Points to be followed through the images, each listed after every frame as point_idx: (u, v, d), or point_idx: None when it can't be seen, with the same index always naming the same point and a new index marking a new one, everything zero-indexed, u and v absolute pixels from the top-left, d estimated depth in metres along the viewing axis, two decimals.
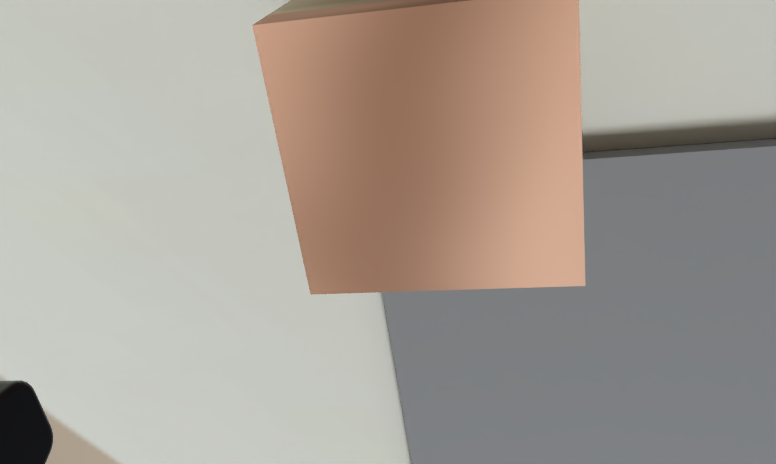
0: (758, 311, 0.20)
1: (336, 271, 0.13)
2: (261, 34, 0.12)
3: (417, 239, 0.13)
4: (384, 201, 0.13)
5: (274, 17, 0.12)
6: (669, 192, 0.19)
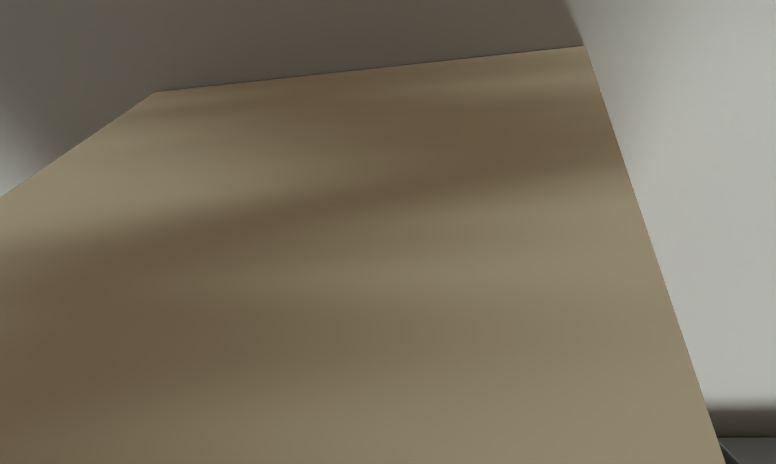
0: None
1: None
2: None
3: None
4: None
5: None
6: None
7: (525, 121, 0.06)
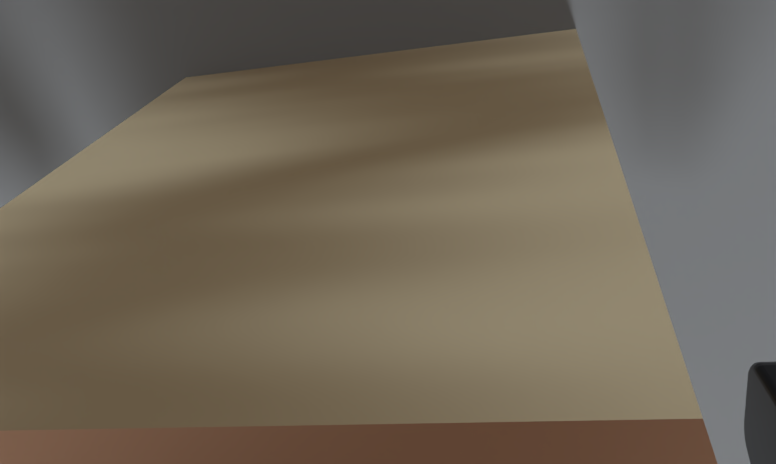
0: None
1: None
2: None
3: None
4: None
5: None
6: (283, 22, 0.09)
7: (521, 92, 0.07)
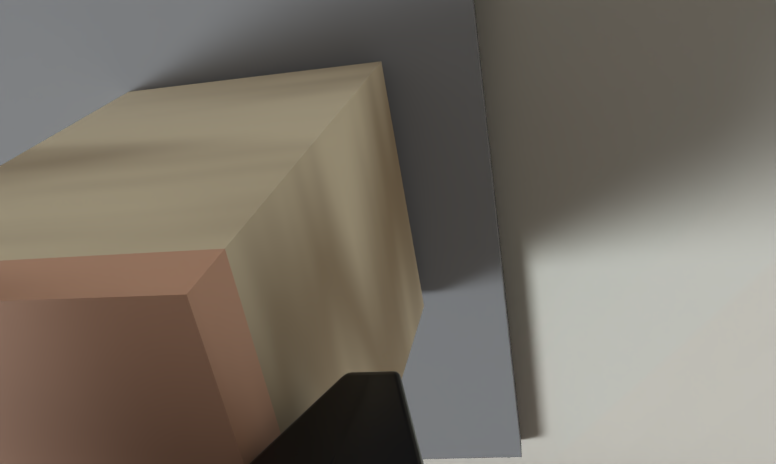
0: None
1: None
2: (173, 308, 0.06)
3: None
4: None
5: (217, 283, 0.07)
6: (427, 132, 0.14)
7: (396, 347, 0.13)
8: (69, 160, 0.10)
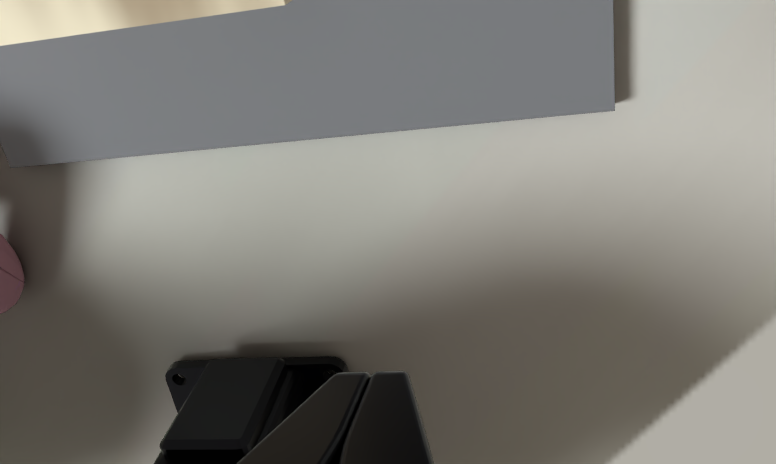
0: None
1: None
2: None
3: None
4: None
5: None
6: None
7: None
8: None
